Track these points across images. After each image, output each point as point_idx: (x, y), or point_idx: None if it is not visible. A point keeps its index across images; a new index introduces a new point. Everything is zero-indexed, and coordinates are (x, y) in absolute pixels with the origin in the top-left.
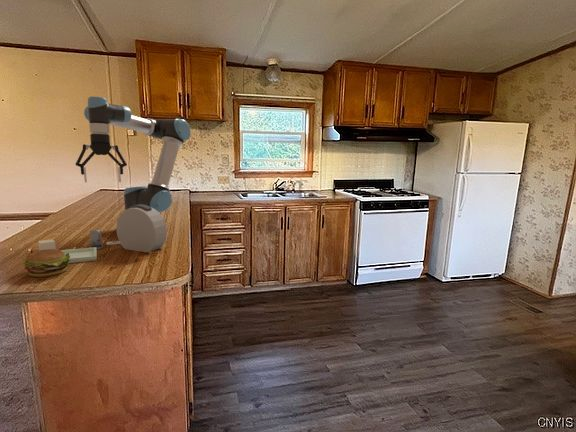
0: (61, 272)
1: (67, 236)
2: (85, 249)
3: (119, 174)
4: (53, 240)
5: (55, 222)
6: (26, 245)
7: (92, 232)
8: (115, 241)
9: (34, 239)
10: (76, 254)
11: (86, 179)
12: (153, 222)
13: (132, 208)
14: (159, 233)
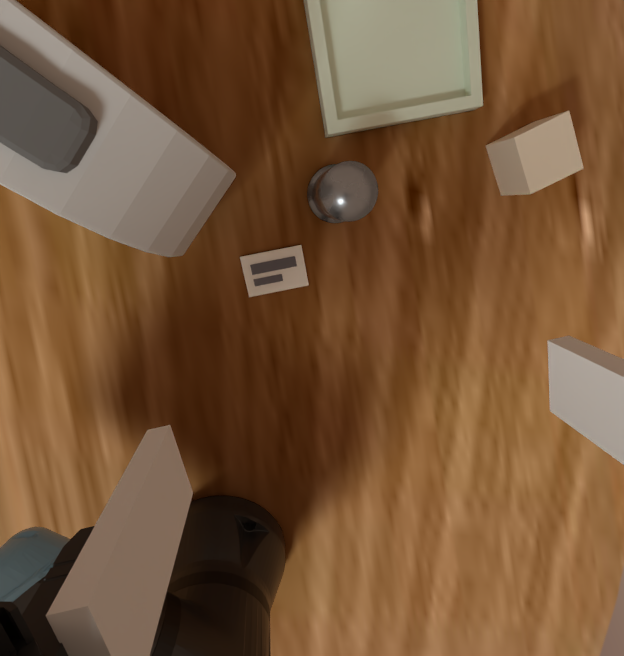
0: None
1: (483, 423)
2: (370, 114)
3: (126, 495)
4: (523, 165)
5: (557, 650)
6: (607, 298)
7: (359, 163)
8: (271, 292)
9: None
10: (398, 65)
11: (574, 352)
12: None
13: (33, 15)
14: None
